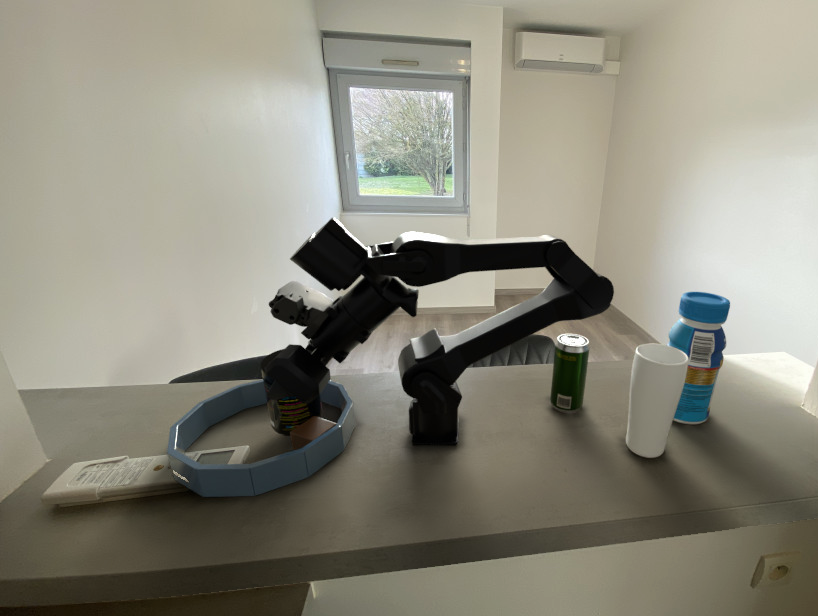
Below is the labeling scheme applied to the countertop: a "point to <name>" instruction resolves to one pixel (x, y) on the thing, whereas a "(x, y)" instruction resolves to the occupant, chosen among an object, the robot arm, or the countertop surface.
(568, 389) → the beer can
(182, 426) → the blue polygonal ring
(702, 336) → the beverage bottle
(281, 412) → the supplement container
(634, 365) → the drinking glass
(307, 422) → the walnut block
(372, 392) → the countertop surface
